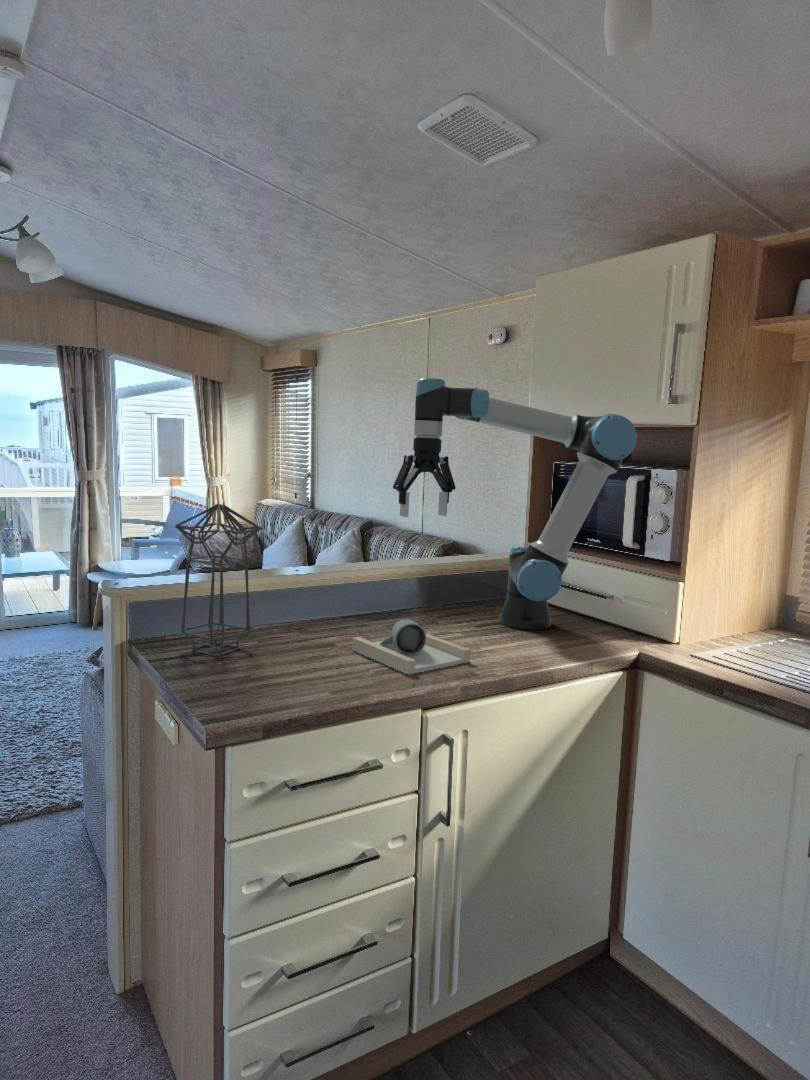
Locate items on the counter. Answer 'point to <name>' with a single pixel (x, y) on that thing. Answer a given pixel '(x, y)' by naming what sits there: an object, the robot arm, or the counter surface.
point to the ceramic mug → (406, 637)
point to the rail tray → (428, 658)
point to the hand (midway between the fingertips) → (423, 516)
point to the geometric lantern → (227, 532)
